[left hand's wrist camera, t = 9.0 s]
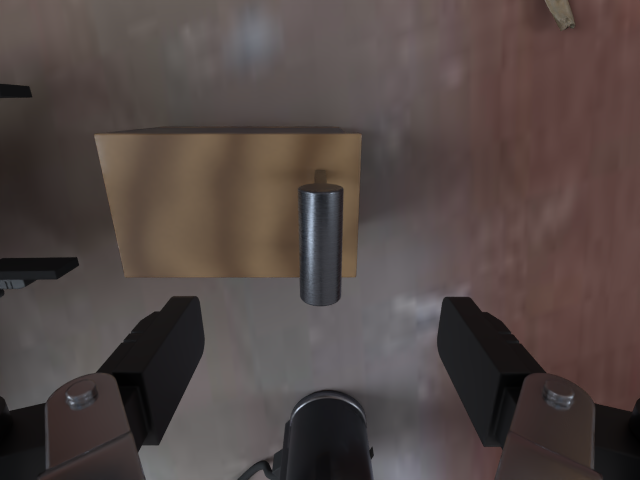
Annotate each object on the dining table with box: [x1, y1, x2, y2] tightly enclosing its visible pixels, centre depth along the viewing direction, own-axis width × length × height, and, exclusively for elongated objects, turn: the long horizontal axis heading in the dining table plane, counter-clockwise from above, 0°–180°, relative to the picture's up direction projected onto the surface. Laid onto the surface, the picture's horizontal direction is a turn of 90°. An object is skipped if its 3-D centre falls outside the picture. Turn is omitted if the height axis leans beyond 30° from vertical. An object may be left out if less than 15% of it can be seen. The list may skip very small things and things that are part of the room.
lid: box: [94, 133, 362, 306], centre depth 21 cm, size 17×10×9 cm, turn 90°
